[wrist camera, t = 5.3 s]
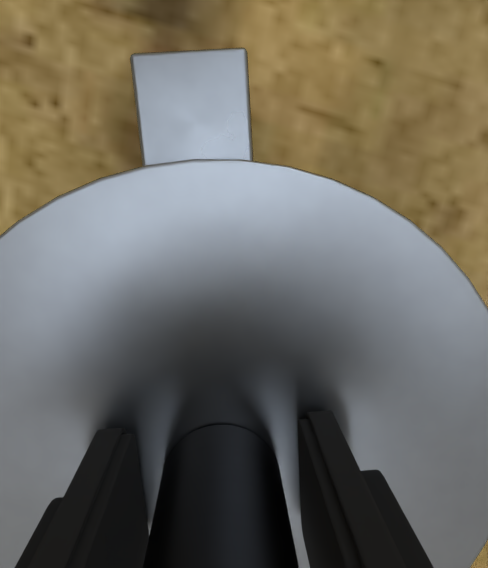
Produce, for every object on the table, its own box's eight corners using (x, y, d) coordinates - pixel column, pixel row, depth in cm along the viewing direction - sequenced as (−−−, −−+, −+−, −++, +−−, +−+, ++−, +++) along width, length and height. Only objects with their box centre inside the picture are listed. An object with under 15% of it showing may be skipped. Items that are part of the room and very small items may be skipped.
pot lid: (509, 142, 9) (949, 81, 4) (468, 624, 12) (666, 982, 7) (-132, 182, 9) (-751, 184, 3) (1, 672, 12) (-190, 1095, 6)
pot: (366, 101, 16) (515, 20, 8) (363, 495, 21) (458, 705, 12) (37, 121, 16) (-163, 56, 8) (105, 519, 20) (23, 752, 12)
